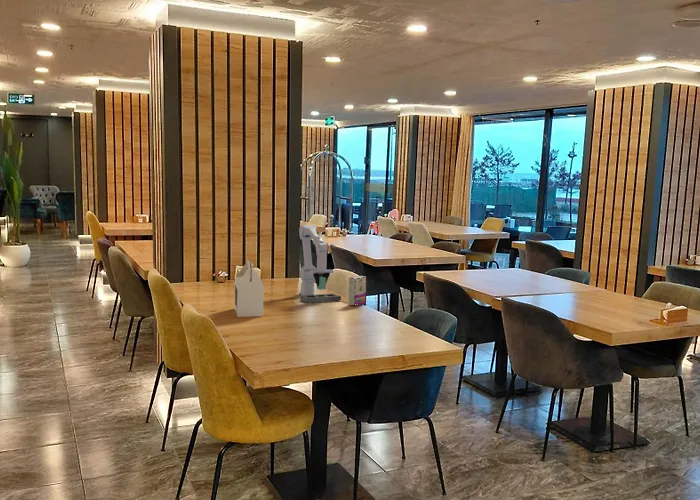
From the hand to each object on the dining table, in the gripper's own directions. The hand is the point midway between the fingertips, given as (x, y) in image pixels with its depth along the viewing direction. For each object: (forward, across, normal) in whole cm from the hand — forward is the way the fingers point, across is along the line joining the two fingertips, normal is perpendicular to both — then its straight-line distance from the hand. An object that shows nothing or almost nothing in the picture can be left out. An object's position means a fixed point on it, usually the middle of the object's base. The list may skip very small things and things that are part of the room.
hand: (321, 285), depth 378 cm
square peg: (+2, 0, 0) cm, 2 cm away
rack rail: (+9, 0, 0) cm, 9 cm away
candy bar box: (+10, +15, -18) cm, 25 cm away
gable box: (+10, -52, -19) cm, 56 cm away
